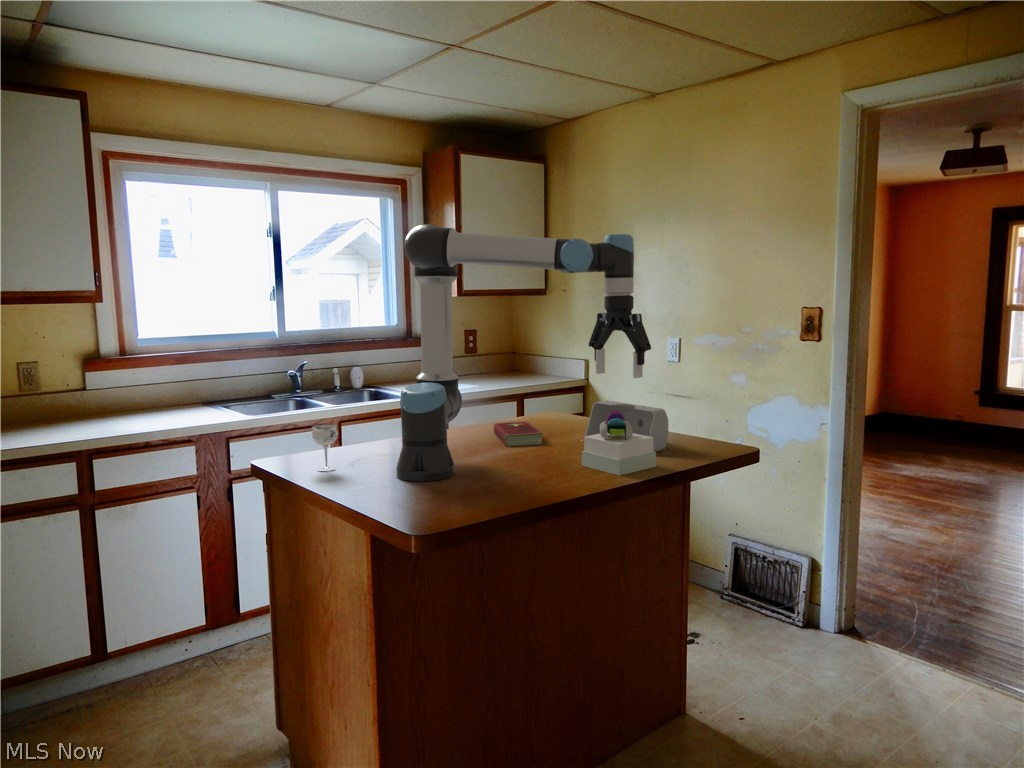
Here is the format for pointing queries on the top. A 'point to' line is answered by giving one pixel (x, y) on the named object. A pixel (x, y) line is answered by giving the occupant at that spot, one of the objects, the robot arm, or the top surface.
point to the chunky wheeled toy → (615, 425)
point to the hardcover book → (518, 433)
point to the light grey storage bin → (633, 420)
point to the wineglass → (324, 436)
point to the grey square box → (618, 453)
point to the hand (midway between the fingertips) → (618, 375)
